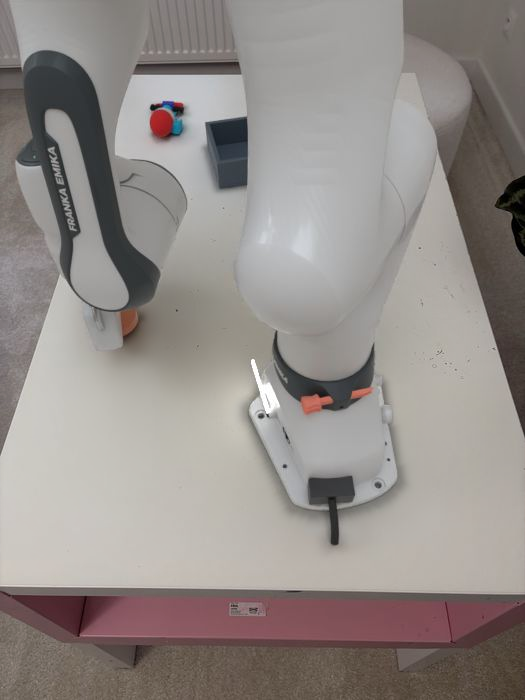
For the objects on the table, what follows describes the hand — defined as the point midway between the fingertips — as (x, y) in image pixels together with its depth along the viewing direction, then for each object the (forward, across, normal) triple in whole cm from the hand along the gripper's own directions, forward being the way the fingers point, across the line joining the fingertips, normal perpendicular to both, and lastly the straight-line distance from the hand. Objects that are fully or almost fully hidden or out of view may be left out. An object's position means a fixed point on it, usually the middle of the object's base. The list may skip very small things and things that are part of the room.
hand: (114, 317), depth 79 cm
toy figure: (+2, +52, -14) cm, 54 cm away
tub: (+2, +35, -28) cm, 45 cm away
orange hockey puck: (+2, 0, 0) cm, 2 cm away
